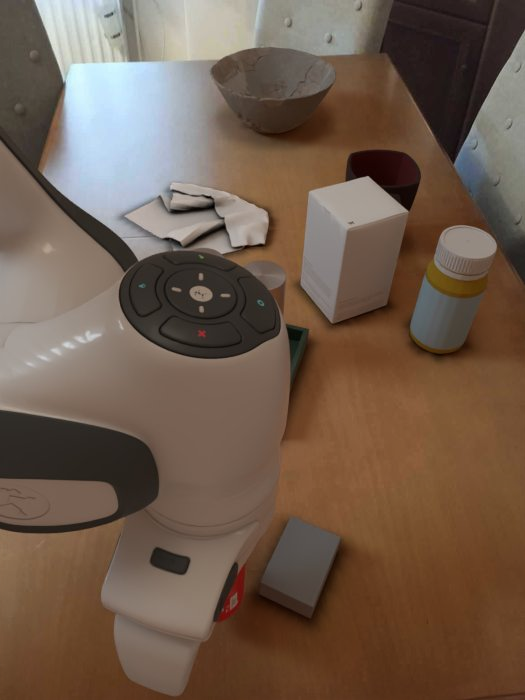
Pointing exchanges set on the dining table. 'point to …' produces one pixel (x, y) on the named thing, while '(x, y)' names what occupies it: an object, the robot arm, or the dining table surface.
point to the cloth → (203, 219)
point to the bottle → (452, 289)
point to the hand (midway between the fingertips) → (211, 573)
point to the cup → (387, 173)
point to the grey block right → (299, 566)
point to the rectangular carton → (351, 247)
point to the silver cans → (264, 276)
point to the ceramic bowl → (273, 86)
